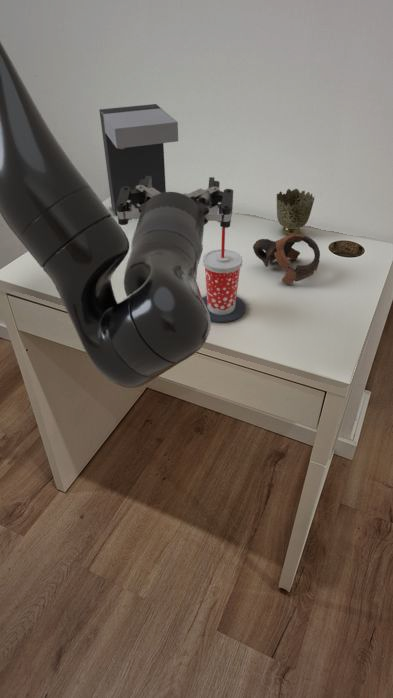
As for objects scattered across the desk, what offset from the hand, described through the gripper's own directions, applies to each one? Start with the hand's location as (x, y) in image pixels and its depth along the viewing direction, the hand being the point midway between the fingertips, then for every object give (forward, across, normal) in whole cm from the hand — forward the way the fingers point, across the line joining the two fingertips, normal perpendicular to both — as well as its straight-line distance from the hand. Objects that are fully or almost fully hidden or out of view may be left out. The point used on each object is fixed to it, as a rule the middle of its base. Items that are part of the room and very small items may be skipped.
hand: (180, 183), depth 65 cm
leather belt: (+13, -18, +22) cm, 31 cm away
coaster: (+1, -6, +21) cm, 22 cm away
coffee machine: (+36, +11, +22) cm, 43 cm away
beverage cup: (+1, -6, +21) cm, 22 cm away
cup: (+29, -20, +22) cm, 42 cm away
